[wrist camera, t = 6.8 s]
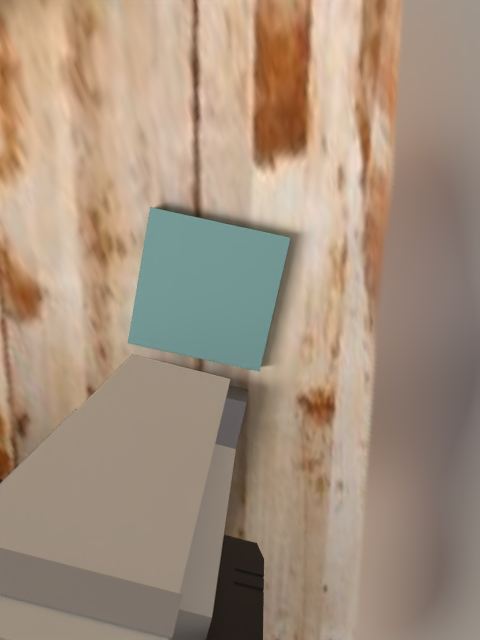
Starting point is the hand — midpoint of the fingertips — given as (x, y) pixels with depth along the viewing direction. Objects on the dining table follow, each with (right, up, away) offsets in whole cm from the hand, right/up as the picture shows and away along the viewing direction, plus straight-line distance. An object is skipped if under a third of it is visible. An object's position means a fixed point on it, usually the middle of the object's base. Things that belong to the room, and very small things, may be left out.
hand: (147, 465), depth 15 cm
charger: (0, +1, +3) cm, 3 cm away
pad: (+1, +7, +18) cm, 20 cm away
